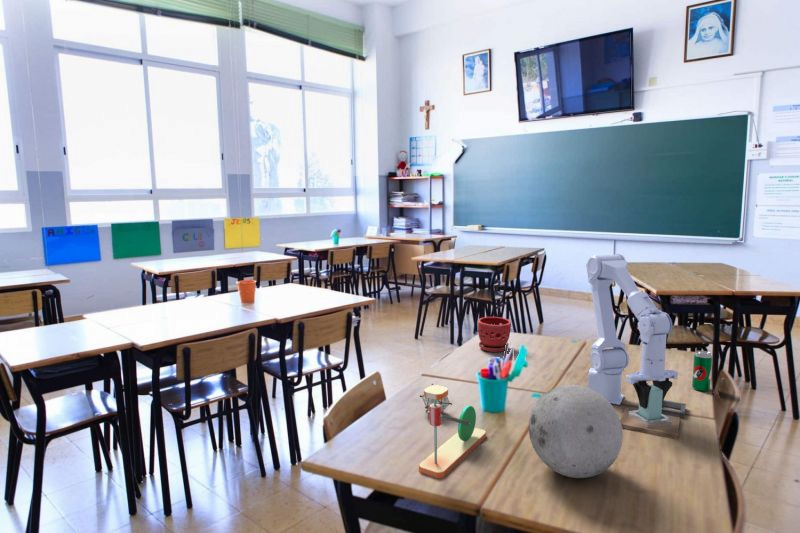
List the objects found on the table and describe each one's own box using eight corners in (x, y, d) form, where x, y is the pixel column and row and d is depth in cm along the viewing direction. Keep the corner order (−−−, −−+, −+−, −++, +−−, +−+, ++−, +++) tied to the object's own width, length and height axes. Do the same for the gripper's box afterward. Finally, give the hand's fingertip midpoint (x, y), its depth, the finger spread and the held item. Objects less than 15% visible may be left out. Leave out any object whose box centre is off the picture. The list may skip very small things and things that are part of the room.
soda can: (712, 392, 163) (715, 355, 162) (694, 391, 164) (697, 354, 163) (706, 386, 168) (709, 350, 167) (689, 385, 169) (691, 349, 168)
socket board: (618, 426, 141) (618, 418, 141) (625, 410, 151) (625, 402, 151) (676, 438, 134) (677, 429, 134) (680, 421, 144) (680, 412, 144)
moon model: (639, 477, 116) (644, 391, 113) (580, 508, 106) (584, 414, 103) (567, 442, 133) (569, 366, 130) (509, 466, 122) (510, 384, 119)
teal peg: (648, 420, 140) (649, 391, 139) (638, 414, 144) (639, 386, 143) (661, 418, 141) (662, 390, 140) (650, 412, 145) (652, 384, 144)
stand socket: (654, 413, 149) (654, 408, 149) (656, 403, 156) (657, 398, 155) (683, 418, 145) (684, 413, 145) (685, 408, 152) (685, 403, 152)
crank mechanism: (441, 479, 117) (440, 397, 114) (416, 471, 121) (415, 391, 118) (488, 435, 138) (488, 365, 135) (465, 429, 141) (465, 361, 139)
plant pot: (475, 352, 207) (476, 323, 206) (479, 343, 220) (480, 315, 218) (509, 355, 204) (509, 325, 202) (511, 345, 216) (511, 317, 215)
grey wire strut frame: (442, 424, 153) (463, 400, 150) (424, 423, 147) (446, 398, 144) (426, 401, 159) (446, 377, 156) (408, 400, 153) (428, 375, 150)
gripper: (639, 364, 134) (637, 415, 136) (687, 359, 138) (684, 408, 140) (622, 356, 141) (619, 404, 143) (668, 351, 144) (665, 398, 146)
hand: (650, 406), depth 142 cm, fingers closed on teal peg, 4 cm apart
